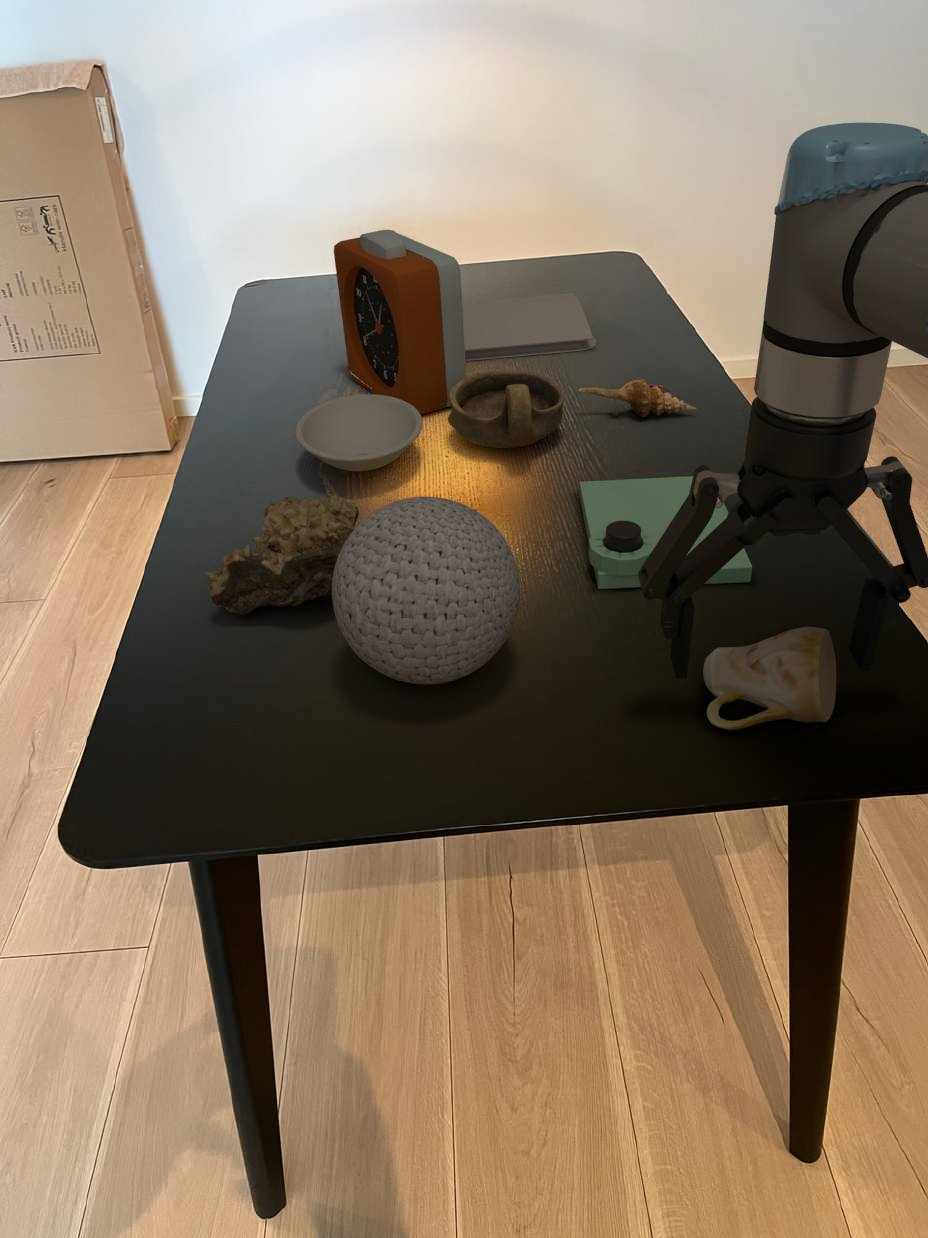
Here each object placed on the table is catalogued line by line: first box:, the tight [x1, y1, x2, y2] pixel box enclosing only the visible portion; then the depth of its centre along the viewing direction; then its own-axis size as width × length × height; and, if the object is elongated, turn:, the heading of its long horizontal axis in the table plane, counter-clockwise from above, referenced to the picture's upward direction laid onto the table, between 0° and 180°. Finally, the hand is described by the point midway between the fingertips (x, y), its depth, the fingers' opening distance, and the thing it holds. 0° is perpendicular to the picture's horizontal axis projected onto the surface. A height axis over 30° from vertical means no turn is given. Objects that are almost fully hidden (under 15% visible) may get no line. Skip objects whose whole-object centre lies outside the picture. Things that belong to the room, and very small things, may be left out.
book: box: [462, 292, 597, 362], centre depth 143 cm, size 15×23×4 cm, turn 96°
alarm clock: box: [333, 229, 467, 416], centre depth 124 cm, size 18×9×21 cm, turn 31°
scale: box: [578, 475, 753, 590], centre depth 96 cm, size 18×15×4 cm
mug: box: [702, 626, 837, 731], centre depth 74 cm, size 8×10×10 cm
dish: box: [295, 393, 424, 472], centre depth 112 cm, size 18×14×5 cm
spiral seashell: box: [578, 378, 697, 418], centre depth 119 cm, size 14×5×4 cm, turn 101°
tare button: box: [605, 521, 641, 553], centre depth 90 cm, size 3×3×2 cm
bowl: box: [447, 369, 565, 449], centre depth 112 cm, size 14×18×10 cm
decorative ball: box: [331, 496, 521, 685], centre depth 78 cm, size 15×15×15 cm
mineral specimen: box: [204, 495, 360, 616], centre depth 90 cm, size 14×13×10 cm
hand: (768, 663), depth 74 cm, fingers open, 13 cm apart
